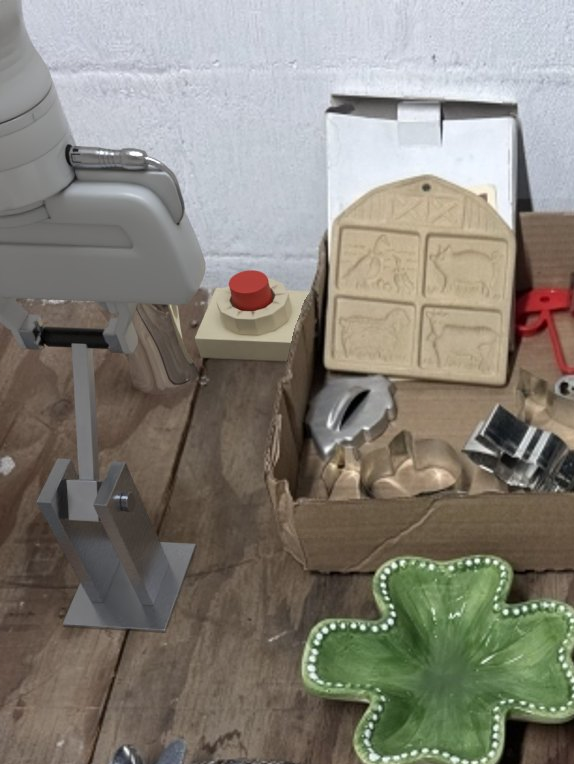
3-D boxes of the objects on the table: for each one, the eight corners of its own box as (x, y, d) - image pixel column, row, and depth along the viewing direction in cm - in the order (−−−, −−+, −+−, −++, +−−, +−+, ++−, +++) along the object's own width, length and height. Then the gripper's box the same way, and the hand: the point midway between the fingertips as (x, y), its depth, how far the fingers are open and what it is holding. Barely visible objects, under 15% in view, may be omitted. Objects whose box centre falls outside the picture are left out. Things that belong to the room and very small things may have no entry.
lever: (54, 328, 75) (36, 324, 73) (124, 331, 75) (108, 327, 72) (66, 517, 78) (49, 519, 76) (132, 520, 78) (118, 522, 76)
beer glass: (190, 409, 97) (136, 257, 85) (117, 402, 98) (54, 250, 85) (215, 361, 101) (167, 209, 89) (145, 355, 102) (88, 203, 89)
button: (229, 311, 99) (224, 292, 98) (239, 288, 101) (233, 269, 100) (267, 313, 99) (262, 293, 98) (276, 290, 101) (271, 270, 100)
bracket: (104, 548, 87) (47, 435, 78) (199, 553, 87) (155, 440, 77) (67, 634, 82) (2, 524, 73) (169, 639, 82) (117, 530, 72)
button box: (200, 358, 101) (188, 321, 98) (221, 307, 106) (210, 270, 103) (304, 362, 101) (295, 325, 98) (321, 311, 105) (313, 274, 102)
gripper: (182, 122, 64) (238, 324, 75) (-149, 111, 65) (-44, 312, 76) (153, 180, 60) (216, 382, 71) (-198, 167, 61) (-80, 369, 73)
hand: (80, 346), depth 74 cm, fingers closed on lever, 5 cm apart
